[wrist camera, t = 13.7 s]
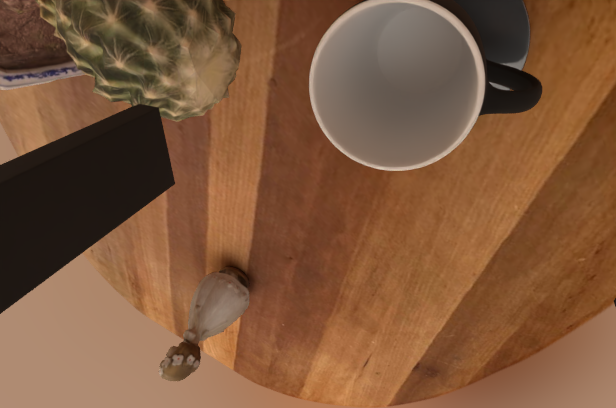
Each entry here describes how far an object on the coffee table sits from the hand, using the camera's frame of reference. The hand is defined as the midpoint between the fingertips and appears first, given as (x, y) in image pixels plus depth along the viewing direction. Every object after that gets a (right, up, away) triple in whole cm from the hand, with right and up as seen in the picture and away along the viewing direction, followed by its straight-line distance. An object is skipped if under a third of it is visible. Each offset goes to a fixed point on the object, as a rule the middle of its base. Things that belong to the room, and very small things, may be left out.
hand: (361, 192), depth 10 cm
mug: (+8, +10, +16) cm, 21 cm away
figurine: (-11, -11, +41) cm, 44 cm away
